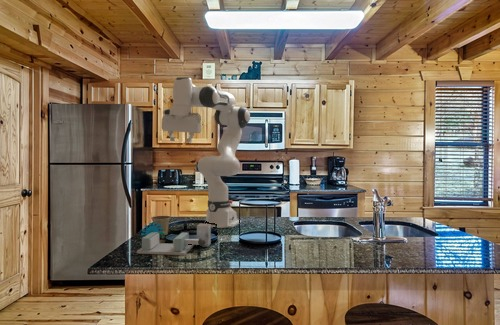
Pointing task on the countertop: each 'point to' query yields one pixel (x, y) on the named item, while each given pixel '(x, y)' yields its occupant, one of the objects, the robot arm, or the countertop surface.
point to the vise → (159, 246)
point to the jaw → (186, 241)
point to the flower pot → (162, 222)
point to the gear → (153, 230)
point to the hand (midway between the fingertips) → (180, 141)
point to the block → (204, 233)
